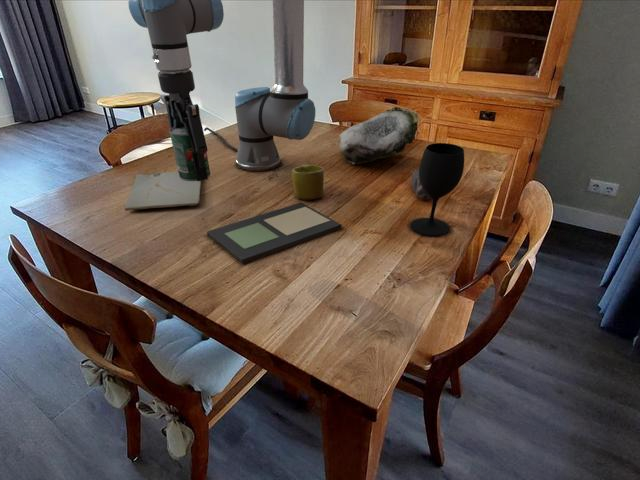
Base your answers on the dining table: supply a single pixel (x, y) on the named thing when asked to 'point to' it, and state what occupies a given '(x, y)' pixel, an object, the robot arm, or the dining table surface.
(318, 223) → the black board
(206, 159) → the canned tomato
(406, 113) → the stone basin
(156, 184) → the decorative slab
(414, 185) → the perforated stone tool
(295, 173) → the mug
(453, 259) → the dining table surface
